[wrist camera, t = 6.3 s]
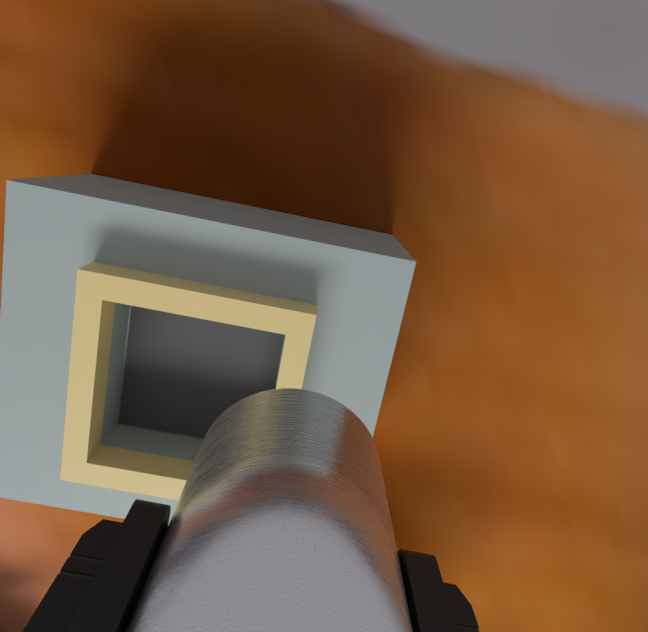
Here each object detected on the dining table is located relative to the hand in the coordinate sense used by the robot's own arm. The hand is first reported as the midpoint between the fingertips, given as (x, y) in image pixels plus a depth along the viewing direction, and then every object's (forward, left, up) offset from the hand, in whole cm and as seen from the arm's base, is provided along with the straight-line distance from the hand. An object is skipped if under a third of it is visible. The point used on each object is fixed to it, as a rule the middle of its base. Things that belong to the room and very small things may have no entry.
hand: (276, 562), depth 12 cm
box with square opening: (+4, +2, -20) cm, 20 cm away
